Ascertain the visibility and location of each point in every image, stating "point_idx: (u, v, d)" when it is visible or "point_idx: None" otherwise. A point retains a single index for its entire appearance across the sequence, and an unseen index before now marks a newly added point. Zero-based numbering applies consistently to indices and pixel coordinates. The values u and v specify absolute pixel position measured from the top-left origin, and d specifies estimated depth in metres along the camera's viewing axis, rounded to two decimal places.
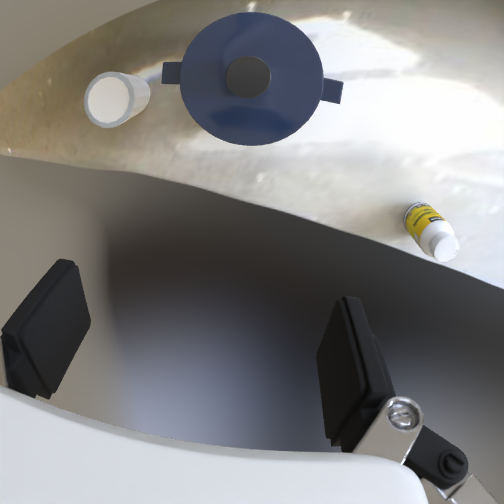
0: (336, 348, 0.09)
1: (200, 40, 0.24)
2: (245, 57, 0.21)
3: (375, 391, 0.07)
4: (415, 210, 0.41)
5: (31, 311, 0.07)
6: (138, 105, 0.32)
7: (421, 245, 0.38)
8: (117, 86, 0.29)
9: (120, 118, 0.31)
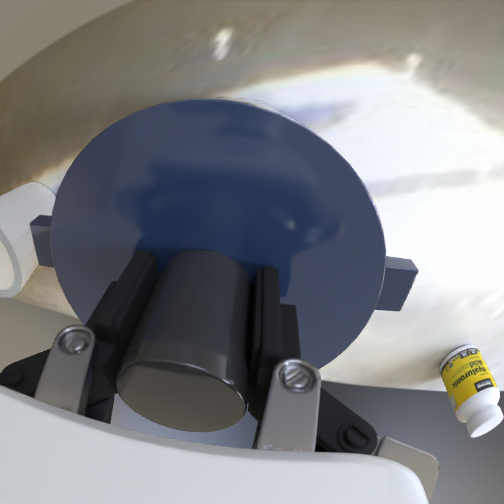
0: (252, 314, 0.10)
1: (72, 193, 0.10)
2: (157, 365, 0.07)
3: (266, 348, 0.08)
4: (458, 361, 0.26)
5: (123, 301, 0.08)
6: (35, 259, 0.18)
7: (457, 415, 0.24)
8: None
9: (11, 289, 0.17)
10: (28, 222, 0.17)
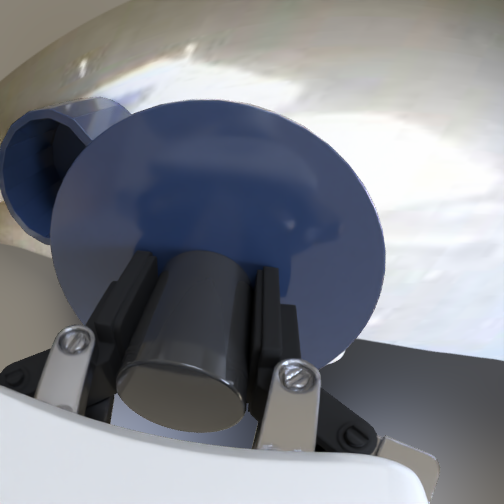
0: (252, 314, 0.10)
1: (72, 193, 0.10)
2: (157, 366, 0.07)
3: (266, 348, 0.08)
4: None
5: (123, 301, 0.08)
6: None
7: None
8: None
9: None
10: None
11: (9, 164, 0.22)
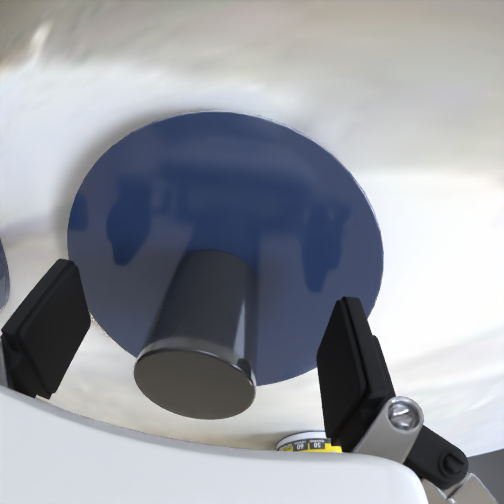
0: (336, 348, 0.09)
1: (90, 196, 0.11)
2: (176, 353, 0.08)
3: (375, 391, 0.07)
4: None
5: (31, 311, 0.07)
6: None
7: None
8: None
9: None
10: None
11: None
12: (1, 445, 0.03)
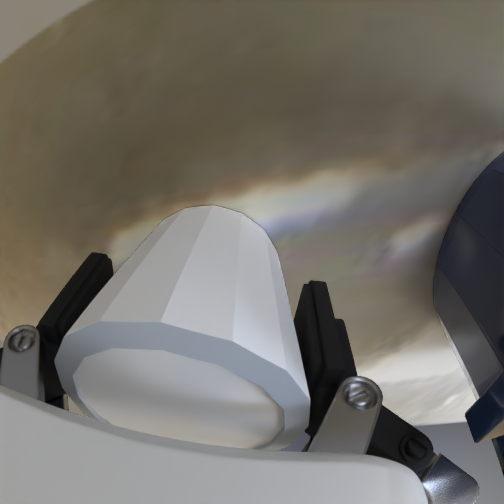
0: (301, 330, 0.10)
1: None
2: None
3: (331, 368, 0.07)
4: None
5: (69, 303, 0.08)
6: None
7: None
8: (223, 389, 0.06)
9: None
10: (289, 319, 0.09)
11: None
12: (1, 445, 0.03)
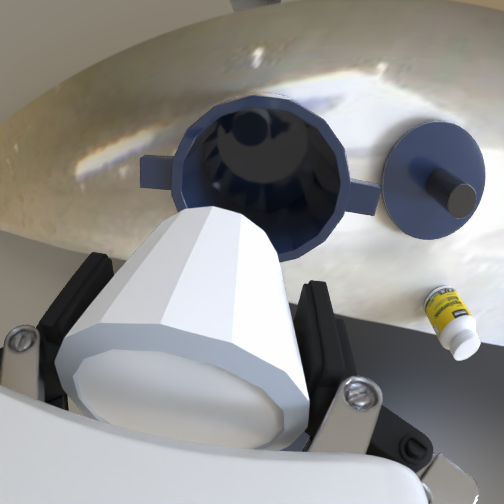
0: (301, 330, 0.10)
1: (407, 142, 0.27)
2: (464, 185, 0.24)
3: (331, 368, 0.07)
4: (438, 297, 0.36)
5: (69, 303, 0.08)
6: None
7: (441, 341, 0.33)
8: (223, 391, 0.06)
9: None
10: (289, 320, 0.09)
11: (187, 157, 0.22)
12: (1, 445, 0.03)
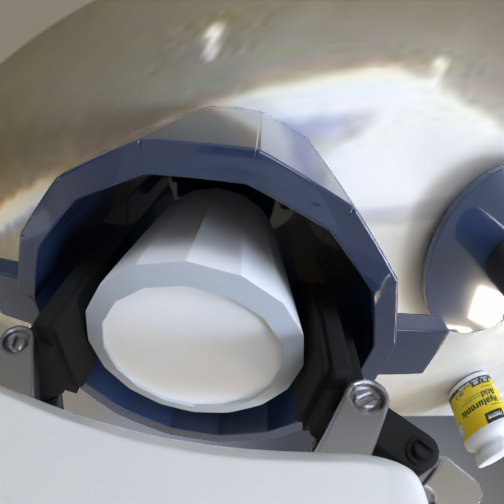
0: (306, 332, 0.10)
1: (474, 199, 0.15)
2: None
3: (337, 371, 0.07)
4: (469, 390, 0.23)
5: (63, 304, 0.08)
6: None
7: (466, 446, 0.20)
8: (232, 325, 0.08)
9: (241, 404, 0.10)
10: (284, 276, 0.11)
11: (50, 275, 0.09)
12: (1, 445, 0.03)
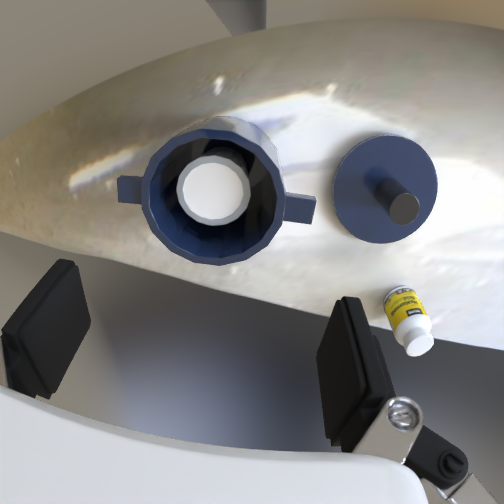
0: (336, 348, 0.09)
1: (355, 155, 0.32)
2: (406, 194, 0.29)
3: (375, 391, 0.07)
4: (395, 296, 0.41)
5: (31, 311, 0.07)
6: None
7: (396, 337, 0.38)
8: (227, 176, 0.28)
9: (230, 216, 0.29)
10: (246, 170, 0.30)
11: (154, 178, 0.27)
12: (1, 445, 0.03)
